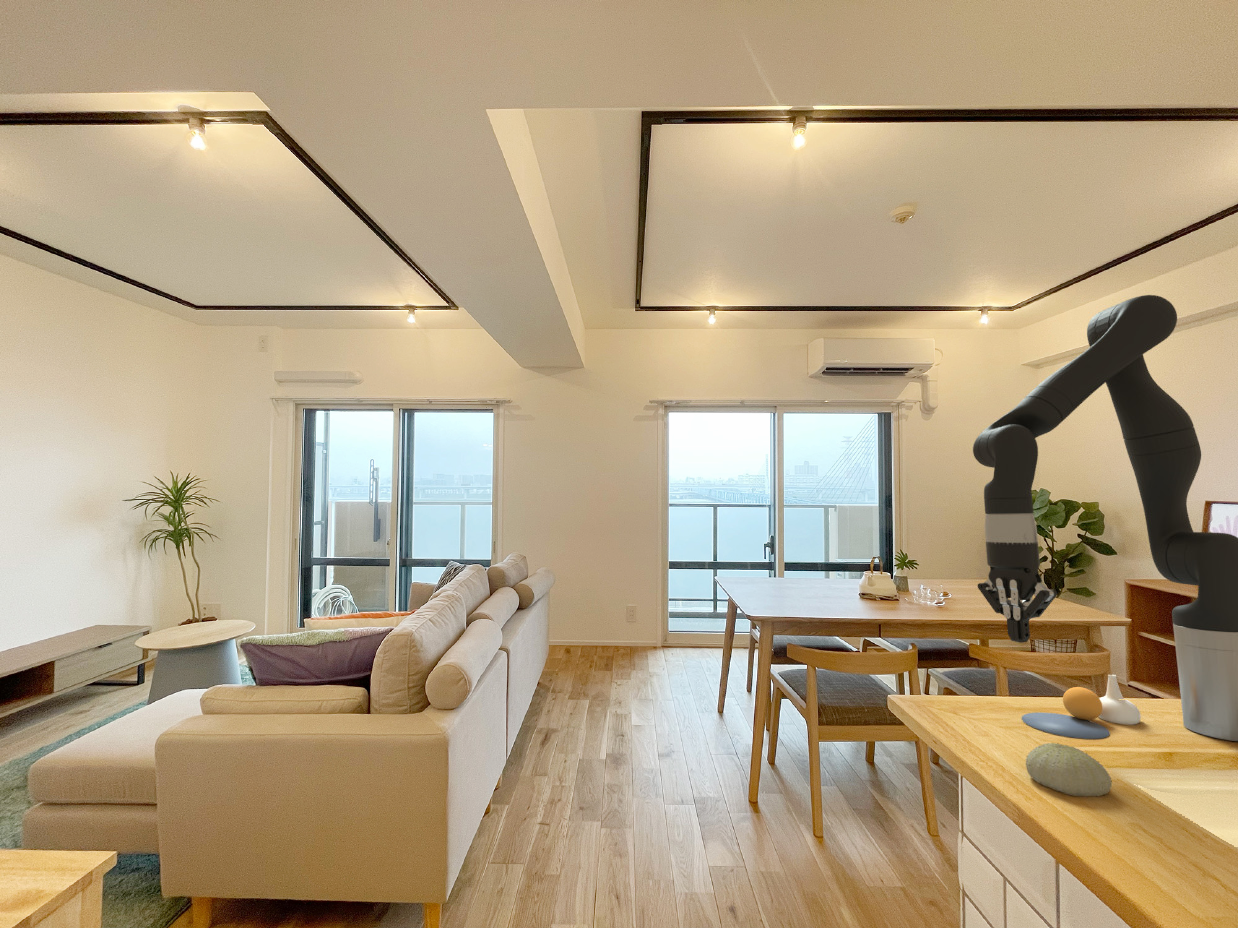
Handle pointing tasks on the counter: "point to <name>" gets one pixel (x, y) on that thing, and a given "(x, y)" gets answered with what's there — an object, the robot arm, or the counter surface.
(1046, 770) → the sea urchin shell
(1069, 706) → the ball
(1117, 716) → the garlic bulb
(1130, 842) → the counter surface
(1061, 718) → the disc
